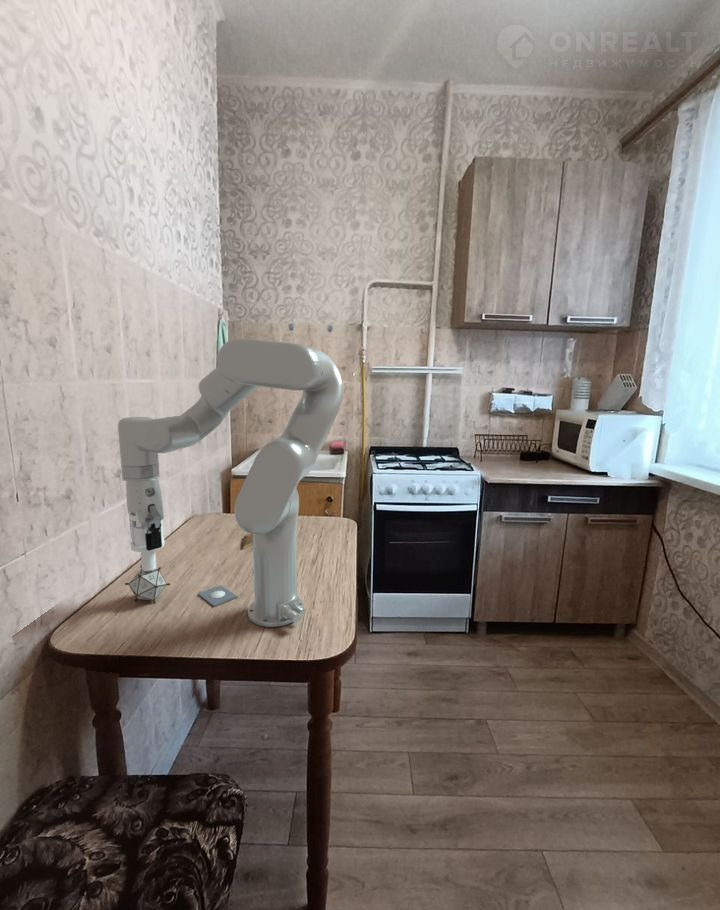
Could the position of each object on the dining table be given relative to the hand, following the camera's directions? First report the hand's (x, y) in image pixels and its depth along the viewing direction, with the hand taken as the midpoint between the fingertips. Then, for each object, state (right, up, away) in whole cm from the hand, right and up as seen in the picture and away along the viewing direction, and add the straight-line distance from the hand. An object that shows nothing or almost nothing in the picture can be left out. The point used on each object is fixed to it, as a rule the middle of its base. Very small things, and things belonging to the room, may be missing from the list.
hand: (146, 542), depth 97 cm
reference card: (+15, -14, +4) cm, 21 cm away
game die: (-1, -14, +2) cm, 15 cm away
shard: (+16, -9, +39) cm, 43 cm away
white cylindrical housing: (0, -6, +1) cm, 7 cm away
